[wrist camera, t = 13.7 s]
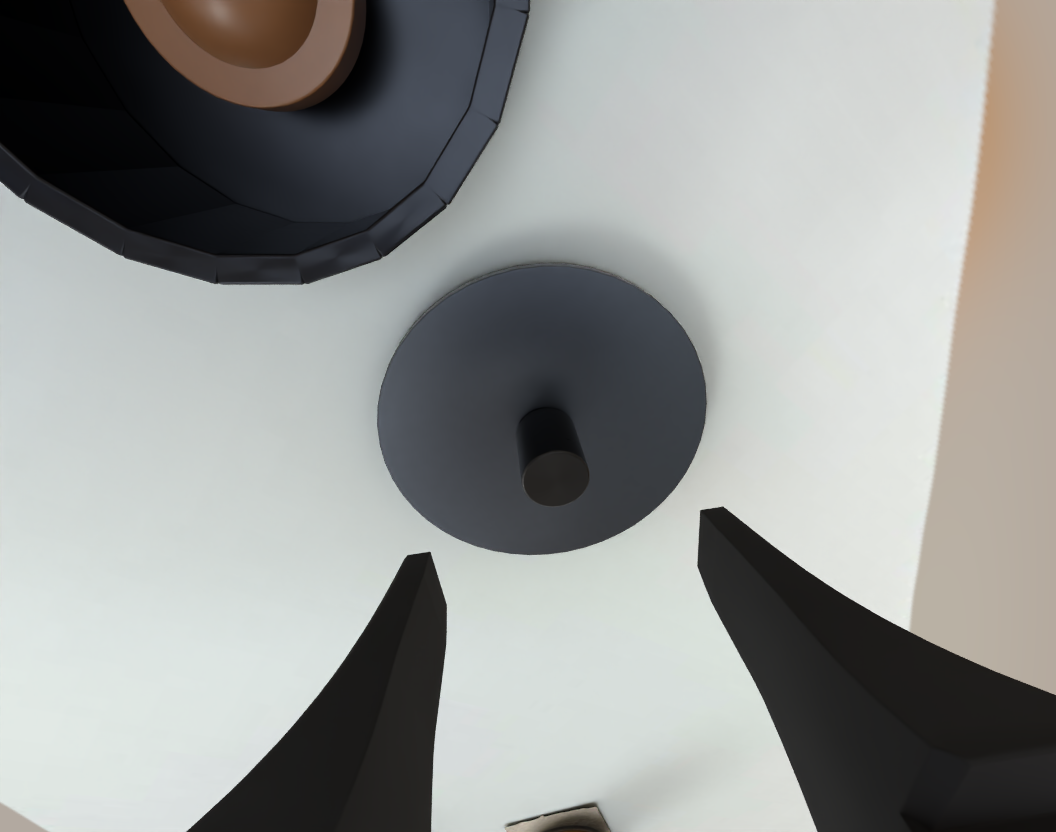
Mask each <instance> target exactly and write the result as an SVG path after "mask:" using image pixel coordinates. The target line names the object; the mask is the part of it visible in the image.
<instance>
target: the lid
mask: <svg viewBox="0 0 1056 832" xmlns="http://www.w3.org/2000/svg"><path fill="white" fill-rule="evenodd" d="M706 404H707V401H706V385H705V380H704V375H703V371H702V366H701V363H700V361H699V358H698V355H697V353H696V350H695V348H694V346H693V344H692V342H691V341H690V339H689V337H688V335H687V334H686V332H685V330H684V329H683V328H682V326H681V325H680V324H679V323H678V321H677V320H676V319H675V318H674V316H673V315H672V314H671V313H670V312H669V311H668V310H667V309H666V308H664V307H663V306H662V305H661V304H660V303H659V302H658V301H657V300H656V299H654V298H653V297H652V296H651V295H649V294H648V293H646V292H645V291H643V290H642V289H640V288H639V287H637V286H636V285H634V284H633V283H630V282H628V281H626V280H624V279H622V278H620V277H617V276H615V275H613V274H610V273H607V272H604V271H600V270H597V269H594V268H590V267H585V266H578V265H572V264H562V263H538V264H530V265H521V266H515V267H511V268H507V269H503V270H499V271H495V272H492V273H489V274H487V275H484V276H482V277H479V278H477V279H474V280H472V281H470V282H468V283H466V284H464V285H462V286H461V287H459V288H457V289H455V290H454V291H452V292H450V293H449V294H447V295H446V296H445V297H443V298H442V299H441V300H439V301H438V302H437V303H435V304H434V305H433V306H432V307H430V308H429V309H428V310H427V311H426V312H425V313H424V314H423V315H422V316H421V317H420V318H419V319H418V320H417V321H416V322H415V323H414V324H413V326H412V327H411V328H410V330H409V331H408V333H407V334H406V335H405V337H404V338H403V339H402V341H401V342H400V344H399V346H398V348H397V350H396V351H395V353H394V355H393V357H392V359H391V361H390V363H389V365H388V368H387V371H386V374H385V377H384V380H383V383H382V386H381V391H380V396H379V402H378V418H377V427H378V435H379V442H380V447H381V450H382V454H383V457H384V461H385V464H386V466H387V468H388V470H389V472H390V474H391V477H392V479H393V481H394V482H395V484H396V485H397V487H398V488H399V490H400V491H401V493H402V494H403V496H404V497H405V498H406V499H407V500H408V502H409V503H410V504H411V505H412V506H413V507H414V509H416V510H417V511H418V512H419V513H420V514H421V515H422V516H423V517H425V518H426V519H427V520H428V521H429V522H431V523H432V524H434V525H435V526H436V527H438V528H439V529H441V530H442V531H444V532H446V533H448V534H450V535H452V536H453V537H455V538H457V539H459V540H462V541H464V542H467V543H469V544H472V545H474V546H477V547H481V548H485V549H488V550H492V551H497V552H503V553H510V554H523V555H541V554H554V553H561V552H567V551H572V550H576V549H580V548H584V547H587V546H590V545H593V544H596V543H599V542H602V541H604V540H606V539H609V538H611V537H613V536H615V535H618V534H619V533H621V532H623V531H625V530H626V529H628V528H630V527H632V526H633V525H635V524H636V523H638V522H639V521H640V520H642V519H643V518H645V517H646V516H647V515H649V514H650V513H651V512H652V511H653V510H654V509H655V508H657V507H658V506H659V505H660V504H661V503H662V502H663V501H664V500H665V499H666V498H667V497H668V496H669V494H670V493H671V492H672V491H673V490H674V489H675V488H676V486H677V485H678V483H679V482H680V480H681V479H682V478H683V476H684V475H685V473H686V472H687V470H688V468H689V466H690V464H691V462H692V460H693V458H694V456H695V454H696V451H697V449H698V446H699V443H700V441H701V437H702V433H703V428H704V424H705V416H706Z"/></svg>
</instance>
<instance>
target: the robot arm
mask: <svg viewBox="0 0 1056 832" xmlns="http://www.w3.org/2000/svg"><path fill="white" fill-rule="evenodd" d="M697 566H698V569H699V572H700V574H701V577H702V579H703V582H704V585H705V587H706V590H707V592H708V594H709V597H710V599H711V602H712V604H713V606H714V608H715V610H716V611H717V613H718V615H719V617H720V619H721V621H722V623H723V625H724V626H725V628H726V630H727V632H728V634H729V636H730V637H731V639H732V641H733V643H734V645H735V647H736V648H737V650H738V652H739V654H740V656H741V658H742V660H743V661H744V663H745V665H746V667H747V669H748V671H749V672H750V674H751V676H752V678H753V680H754V682H755V683H756V686H757V688H758V690H759V692H760V694H761V696H762V698H763V700H764V702H765V704H766V706H767V709H768V711H769V713H770V716H771V718H772V720H773V723H774V725H775V727H776V730H777V732H778V734H779V737H780V739H781V741H782V744H783V746H784V748H785V751H786V753H787V756H788V758H789V761H790V763H791V766H792V768H793V770H794V773H795V775H796V778H797V780H798V783H799V785H800V788H801V790H802V793H803V795H804V798H805V800H806V803H807V806H808V808H809V811H810V813H811V816H812V819H813V821H814V824H815V826H816V829H817V831H818V832H1056V695H1054V694H1051V693H1049V692H1046V691H1043V690H1041V689H1038V688H1036V687H1033V686H1031V685H1028V684H1026V683H1023V682H1020V681H1018V680H1015V679H1013V678H1010V677H1008V676H1005V675H1003V674H1000V673H997V672H995V671H992V670H990V669H988V668H986V667H983V666H981V665H979V664H977V663H974V662H972V661H970V660H968V659H965V658H963V657H960V656H959V655H956V654H954V653H952V652H950V651H947V650H945V649H943V648H941V647H939V646H937V645H935V644H933V643H930V642H928V641H926V640H924V639H922V638H921V637H918V636H917V635H914V634H913V633H911V632H909V631H907V630H905V629H903V628H901V627H899V626H897V625H895V624H893V623H891V622H889V621H888V620H886V619H884V618H882V617H880V616H878V615H877V614H875V613H873V612H871V611H870V610H868V609H866V608H865V607H863V606H861V605H860V604H858V603H856V602H854V601H853V600H851V599H849V598H848V597H846V596H844V595H843V594H841V593H840V592H838V591H836V590H835V589H833V588H832V587H830V586H829V585H827V584H826V583H824V582H823V581H821V580H820V579H818V578H817V577H815V576H814V575H812V574H811V573H809V572H808V571H806V570H805V569H804V568H802V567H801V566H799V565H798V564H797V563H795V562H794V561H793V560H791V559H790V558H788V557H787V556H786V555H784V554H783V553H782V552H780V551H779V550H778V549H776V548H775V547H774V546H772V545H771V544H770V543H769V542H767V541H766V540H765V539H763V538H762V537H761V536H760V535H758V534H757V533H756V532H755V531H753V530H752V529H751V528H750V527H748V526H747V525H746V524H745V523H743V522H742V521H741V520H740V519H738V518H737V517H736V516H735V515H733V514H732V513H731V512H729V511H728V510H727V509H726V508H724V507H718V508H711V509H705V510H700V528H699V547H698V565H697ZM446 633H447V604H446V601H445V598H444V595H443V591H442V588H441V585H440V582H439V578H438V575H437V572H436V569H435V565H434V562H433V559H432V556H431V552H426V553H419V554H413V555H407V557H406V558H405V559H404V561H403V563H402V565H401V567H400V568H399V570H398V572H397V574H396V576H395V578H394V580H393V582H392V583H391V585H390V587H389V589H388V591H387V593H386V594H385V596H384V598H383V600H382V601H381V603H380V605H379V606H378V608H377V610H376V611H375V613H374V615H373V617H372V618H371V620H370V622H369V623H368V625H367V626H366V628H365V630H364V631H363V633H362V634H361V636H360V637H359V639H358V640H357V642H356V643H355V645H354V646H353V648H352V649H351V651H350V652H349V654H348V655H347V657H346V658H345V660H344V661H343V663H342V664H341V666H340V667H339V668H338V670H337V671H336V673H335V674H334V675H333V677H332V678H331V679H330V681H329V682H328V683H327V685H326V686H325V687H324V688H323V690H322V691H321V692H320V694H319V695H318V696H317V697H316V699H315V700H314V701H313V702H312V704H311V705H310V706H309V707H308V708H307V710H306V711H305V712H304V713H303V714H302V716H301V717H300V718H299V719H298V720H297V722H296V723H295V724H294V725H293V726H292V727H291V729H290V730H289V731H288V732H287V733H286V734H285V735H284V736H283V738H282V739H281V740H280V741H279V742H278V743H277V744H276V745H275V746H274V747H273V748H272V749H271V750H270V751H269V752H268V754H267V755H266V756H265V757H264V758H263V759H262V760H261V761H260V762H259V763H258V764H257V765H256V766H255V767H254V768H253V769H252V770H251V771H250V772H249V773H248V774H247V775H246V776H245V777H244V778H243V779H242V780H241V781H240V782H239V783H238V784H237V785H236V786H235V787H234V788H233V789H232V790H231V791H230V792H229V793H228V794H227V795H226V796H225V797H224V798H223V799H222V800H221V801H219V802H218V803H217V804H216V805H215V806H214V807H213V808H212V809H211V810H210V811H209V812H207V813H206V814H205V815H204V816H203V817H202V818H201V819H200V820H199V821H198V822H197V823H196V824H194V825H193V826H192V827H191V828H190V829H189V830H188V831H187V832H431V811H432V779H433V752H434V741H435V730H436V723H437V715H438V707H439V699H440V691H441V683H442V675H443V667H444V659H445V650H446Z"/></svg>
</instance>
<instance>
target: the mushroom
mask: <svg viewBox="0 0 1056 832" xmlns="http://www.w3.org/2000/svg"><path fill="white" fill-rule="evenodd" d="M124 2H125V4H126V6H127V7H128V9H129V11H130V13H131V15H132V16H133V18H134V20H135V22H136V23H137V25H138V26H139V28H140V29H141V30H142V32H143V33H144V35H145V36H146V38H147V39H148V40H149V42H150V43H151V44H152V45H153V46H154V48H155V49H156V50H157V51H158V53H159V54H160V55H161V56H162V57H163V58H164V59H165V60H166V61H167V62H168V63H169V64H170V65H171V66H172V67H173V68H174V69H175V70H177V71H178V72H179V73H180V74H181V75H183V76H184V77H185V78H186V79H187V80H189V81H190V82H192V83H193V84H195V85H196V86H198V87H199V88H201V89H202V90H204V91H206V92H208V93H210V94H211V95H213V96H215V97H217V98H220V99H222V100H225V101H227V102H230V103H233V104H237V105H241V106H245V107H250V108H255V109H261V110H267V111H276V112H288V111H296V110H302V109H305V108H308V107H311V106H314V105H316V104H318V103H320V102H321V101H323V100H325V99H327V98H328V97H329V96H330V95H332V94H333V93H334V92H335V91H336V90H337V89H338V88H339V87H340V86H341V85H342V84H343V83H344V81H345V80H346V78H347V77H348V75H349V74H350V72H351V71H352V69H353V67H354V65H355V63H356V60H357V58H358V56H359V52H360V49H361V46H362V43H363V37H364V32H365V23H366V0H124Z"/></svg>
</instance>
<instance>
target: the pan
mask: <svg viewBox="0 0 1056 832" xmlns="http://www.w3.org/2000/svg"><path fill="white" fill-rule="evenodd" d="M529 12H530V0H366V23H365V32H364V37H363V43H362V46H361V49H360V52H359V56H358V58H357V60H356V63H355V65H354V67H353V69H352V71H351V72H350V74H349V75H348V77H347V78H346V80H345V81H344V83H343V84H342V85H341V86H340V87H339V88H338V89H337V90H336V91H335V92H334V93H333V94H332V95H330V96H329V97H328V98H327V99H325V100H323V101H321V102H320V103H318V104H316V105H314V106H311V107H308V108H305V109H302V110H296V111H288V112H276V111H267V110H261V109H255V108H250V107H245V106H241V105H237V104H233V103H230V102H227V101H225V100H222V99H220V98H217V97H215V96H213V95H211V94H210V93H208V92H206V91H204V90H202V89H201V88H199V87H198V86H196V85H195V84H193V83H192V82H190V81H189V80H187V79H186V78H185V77H184V76H183V75H181V74H180V73H179V72H178V71H177V70H175V69H174V68H173V67H172V66H171V65H170V64H169V63H168V62H167V61H166V60H165V59H164V58H163V57H162V56H161V55H160V54H159V53H158V51H157V50H156V49H155V48H154V46H153V45H152V44H151V43H150V42H149V40H148V39H147V38H146V36H145V35H144V33H143V32H142V30H141V29H140V28H139V26H138V25H137V23H136V22H135V20H134V18H133V16H132V15H131V13H130V11H129V9H128V7H127V6H126V4H125V2H124V0H0V182H2V183H3V184H4V185H5V186H6V187H7V188H8V189H10V190H11V191H12V192H13V193H14V194H15V195H17V196H18V197H19V198H21V199H24V201H25V202H26V203H28V204H30V205H31V206H33V207H35V208H37V209H38V210H40V211H42V212H44V213H45V214H47V215H49V216H51V217H53V218H54V219H56V220H58V221H60V222H61V223H63V224H65V225H67V226H69V227H70V228H72V229H74V230H76V231H77V232H79V233H81V234H83V235H85V236H86V237H88V238H90V239H92V240H93V241H95V242H97V243H99V244H100V245H102V246H104V247H106V248H108V249H109V250H111V251H113V252H115V253H116V254H118V255H121V256H124V257H125V258H126V259H130V260H133V261H137V262H140V263H144V264H147V265H151V266H154V267H158V268H161V269H165V270H168V271H172V272H175V273H179V274H182V275H186V276H189V277H193V278H196V279H200V280H203V281H207V282H210V283H214V284H218V283H219V284H222V285H302V284H304V283H306V284H309V283H312V282H315V281H318V280H321V279H324V278H327V277H330V276H333V275H336V274H339V273H342V272H345V271H348V270H351V269H353V268H356V267H359V266H362V265H365V264H368V263H371V262H374V261H377V260H380V259H381V258H382V257H384V256H387V255H388V254H389V253H390V252H392V251H393V250H394V249H395V248H397V247H398V246H399V245H400V244H402V243H403V242H404V241H405V240H407V239H408V238H409V237H410V236H412V235H413V234H414V233H415V232H417V231H418V230H419V229H420V228H422V227H423V226H424V225H425V224H427V223H428V222H429V221H430V220H432V219H433V218H434V217H435V216H437V215H438V214H439V213H440V212H442V211H443V210H444V209H445V208H446V207H447V205H449V204H450V203H451V201H452V200H453V198H454V197H455V195H456V194H457V192H458V190H459V189H460V187H461V186H462V184H463V182H464V181H465V179H466V178H467V176H468V174H469V173H470V171H471V170H472V168H473V166H474V165H475V163H476V162H477V160H478V158H479V157H480V155H481V154H482V152H483V150H484V149H485V147H486V146H487V144H488V142H489V141H490V139H491V138H492V136H493V135H494V133H495V131H496V130H497V128H498V125H499V123H500V121H501V118H502V114H503V110H504V107H505V103H506V100H507V96H508V92H509V89H510V85H511V81H512V78H513V74H514V70H515V67H516V63H517V59H518V56H519V52H520V48H521V45H522V41H523V37H524V34H525V30H526V26H527V23H528V19H529Z"/></svg>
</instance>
